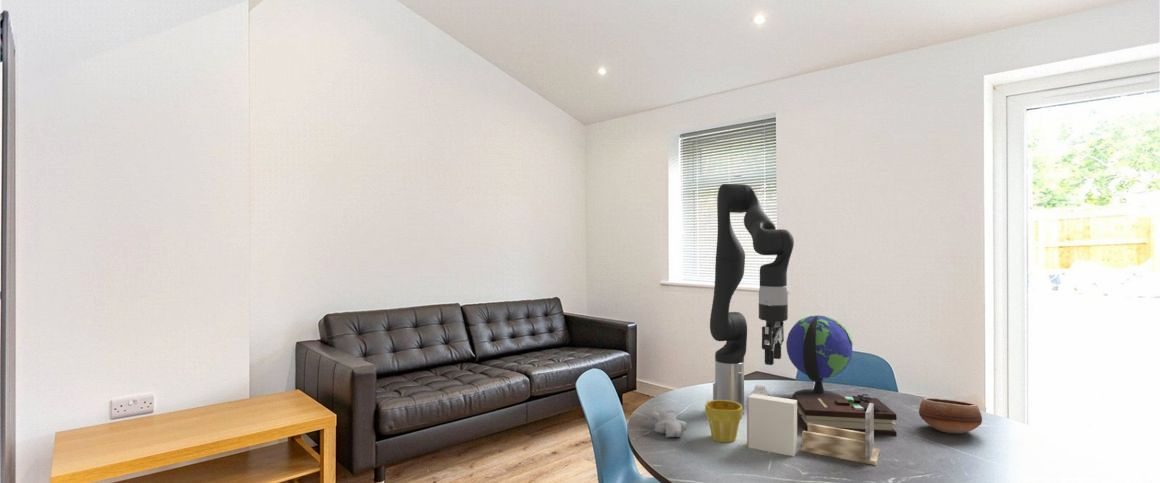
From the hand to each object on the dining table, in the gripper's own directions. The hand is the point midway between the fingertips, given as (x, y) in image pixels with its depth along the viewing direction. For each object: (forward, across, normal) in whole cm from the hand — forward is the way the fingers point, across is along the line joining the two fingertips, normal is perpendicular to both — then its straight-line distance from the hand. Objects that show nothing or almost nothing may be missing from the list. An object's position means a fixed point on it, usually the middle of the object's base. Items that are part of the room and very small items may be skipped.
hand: (773, 361), depth 154 cm
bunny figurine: (+24, +1, -30) cm, 39 cm away
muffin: (+24, -40, -14) cm, 49 cm away
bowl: (+24, -42, +41) cm, 63 cm away
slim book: (+24, 0, 0) cm, 24 cm away
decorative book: (+25, -33, +13) cm, 43 cm away
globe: (+24, -58, +2) cm, 63 cm away
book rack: (+24, -8, +16) cm, 30 cm away
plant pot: (+24, -1, -14) cm, 28 cm away
